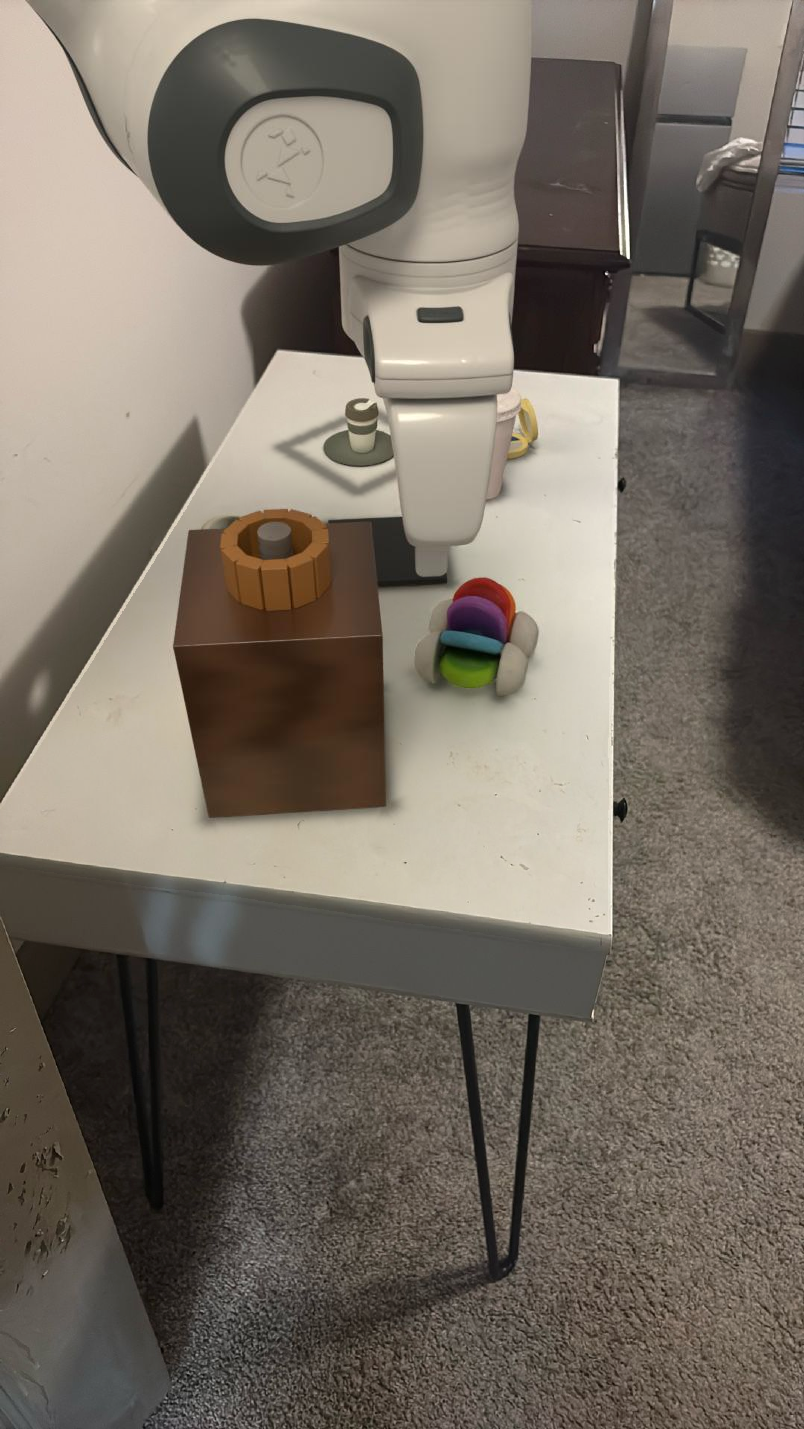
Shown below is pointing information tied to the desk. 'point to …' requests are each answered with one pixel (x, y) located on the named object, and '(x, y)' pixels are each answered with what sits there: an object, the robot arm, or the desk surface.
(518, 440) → the eyeshadow
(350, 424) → the coffee cup
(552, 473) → the desk surface
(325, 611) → the tape stand
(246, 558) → the grooved wooden ring
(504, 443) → the smoothie
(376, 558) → the mat
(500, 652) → the rainbow disc roller toy
